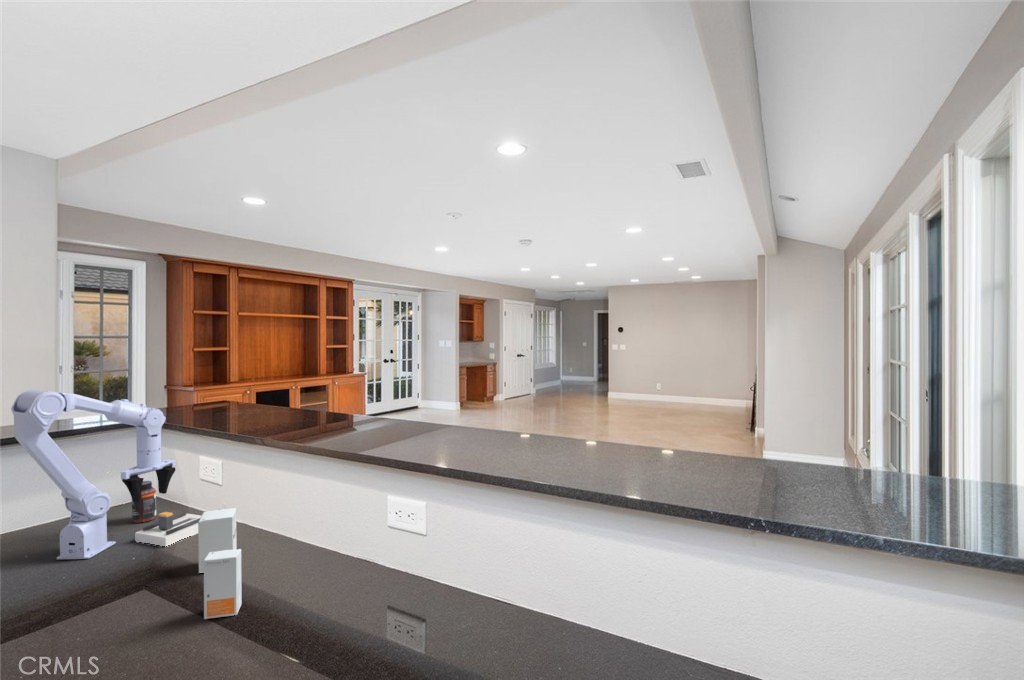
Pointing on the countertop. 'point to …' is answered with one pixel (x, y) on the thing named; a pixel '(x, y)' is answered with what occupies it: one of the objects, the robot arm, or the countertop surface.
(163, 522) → the handle
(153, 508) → the supplement bottle
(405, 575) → the countertop surface
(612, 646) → the countertop surface
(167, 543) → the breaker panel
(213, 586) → the skincare box
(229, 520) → the supplement box
